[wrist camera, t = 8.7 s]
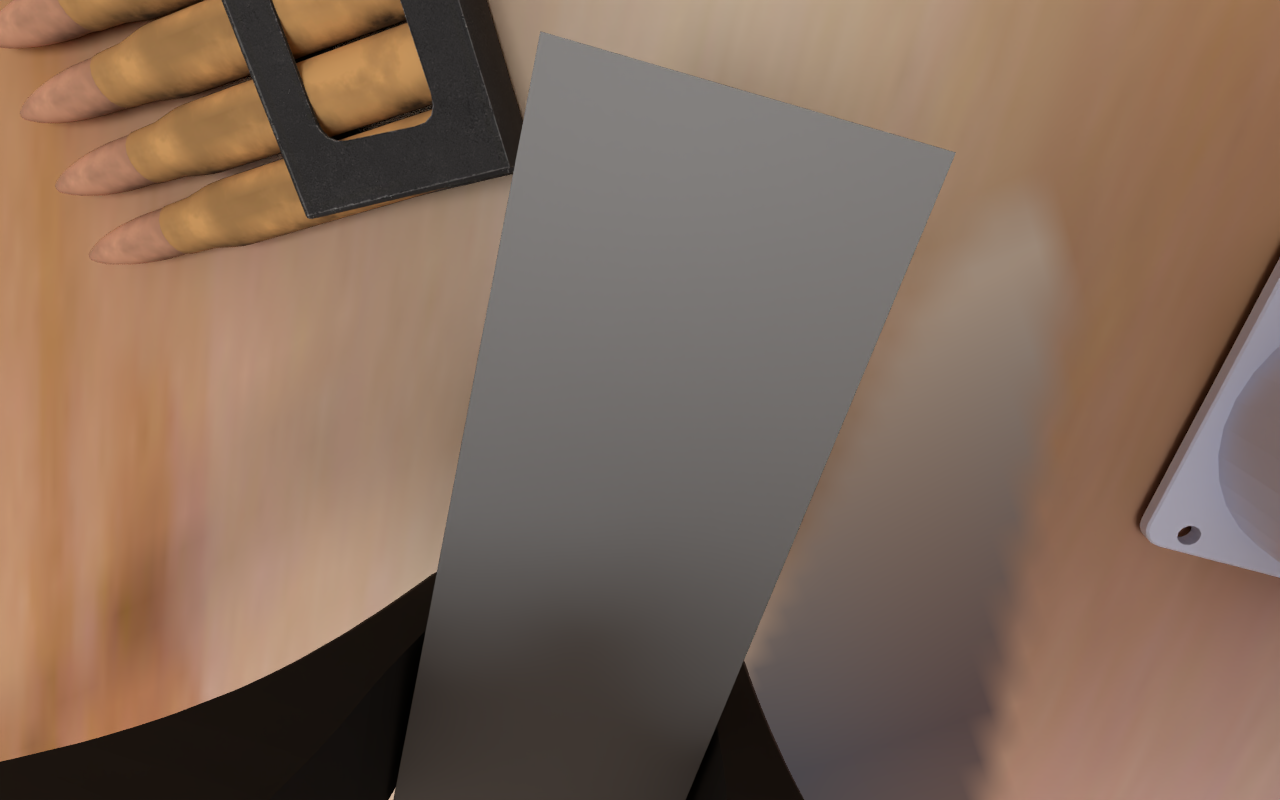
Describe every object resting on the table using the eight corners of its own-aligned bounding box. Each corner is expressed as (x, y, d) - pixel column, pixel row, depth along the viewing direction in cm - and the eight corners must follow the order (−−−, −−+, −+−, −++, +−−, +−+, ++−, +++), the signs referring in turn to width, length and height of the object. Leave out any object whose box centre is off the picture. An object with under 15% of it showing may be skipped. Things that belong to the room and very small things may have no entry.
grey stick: (868, 131, 11) (955, 152, 7) (594, 875, 18) (546, 1131, 14) (619, 59, 12) (539, 31, 7) (440, 827, 19) (341, 1069, 14)
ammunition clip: (373, -380, 15) (-71, -155, 17) (321, -448, 13) (-163, -186, 16) (536, 168, 18) (135, 285, 21) (511, 171, 16) (77, 299, 19)
